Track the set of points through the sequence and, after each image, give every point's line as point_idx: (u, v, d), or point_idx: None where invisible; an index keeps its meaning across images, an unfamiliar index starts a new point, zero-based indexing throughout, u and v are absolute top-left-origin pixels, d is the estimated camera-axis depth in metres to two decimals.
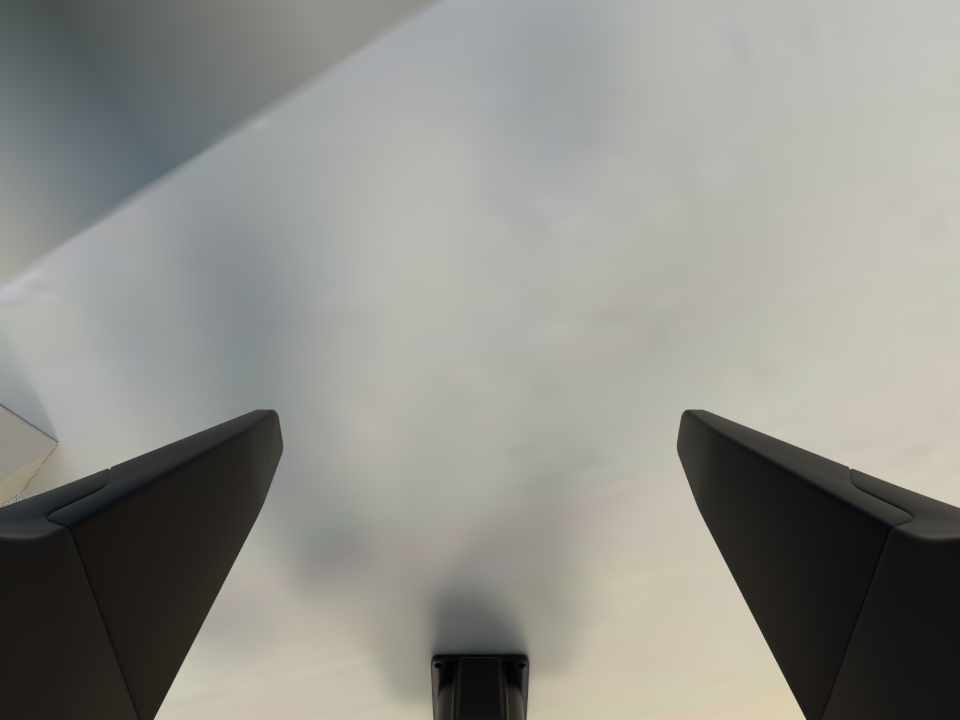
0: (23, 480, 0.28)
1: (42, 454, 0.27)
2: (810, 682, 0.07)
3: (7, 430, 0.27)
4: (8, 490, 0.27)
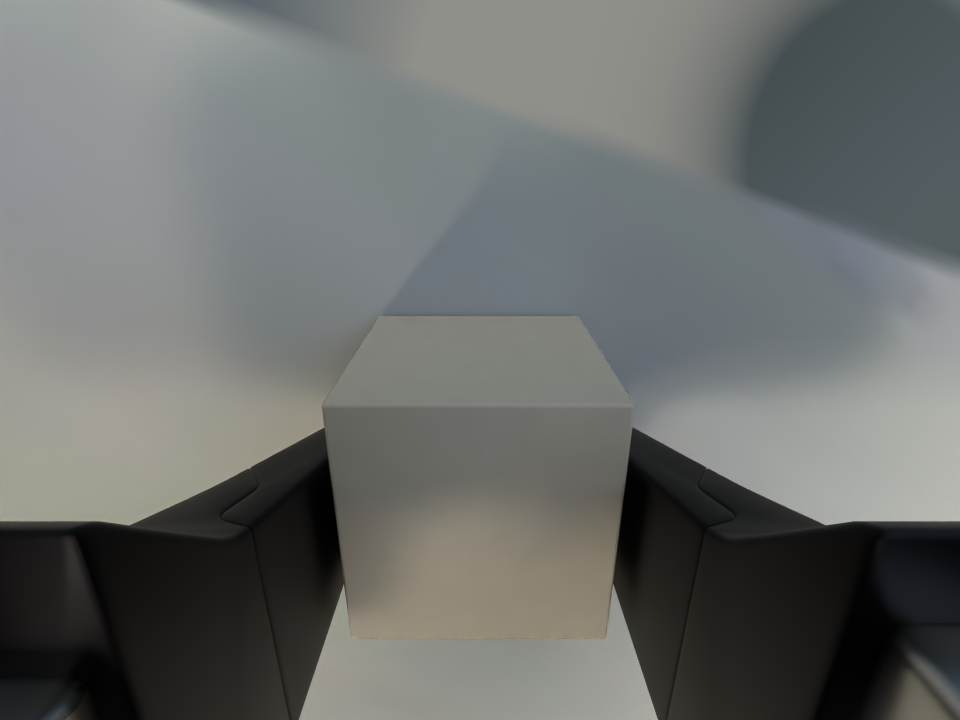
0: None
1: None
2: (659, 682, 0.07)
3: None
4: None
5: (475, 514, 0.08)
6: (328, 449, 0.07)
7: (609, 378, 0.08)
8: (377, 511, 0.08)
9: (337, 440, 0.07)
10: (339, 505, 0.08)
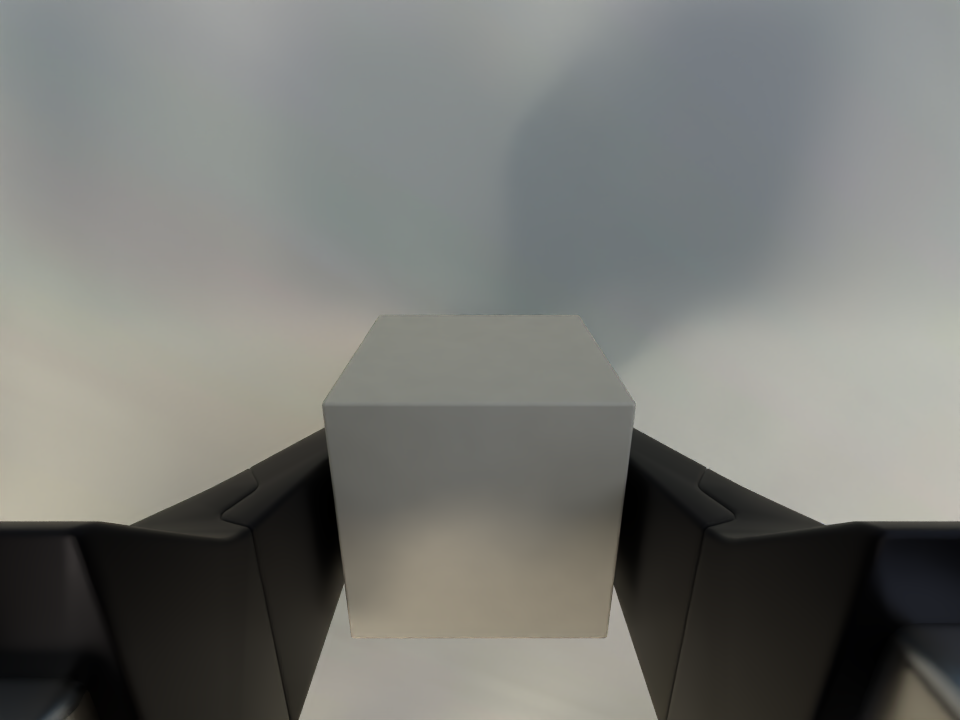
0: None
1: None
2: (659, 682, 0.07)
3: None
4: None
5: (476, 513, 0.08)
6: (328, 448, 0.07)
7: (610, 377, 0.08)
8: (377, 510, 0.08)
9: (337, 439, 0.07)
10: (339, 504, 0.08)
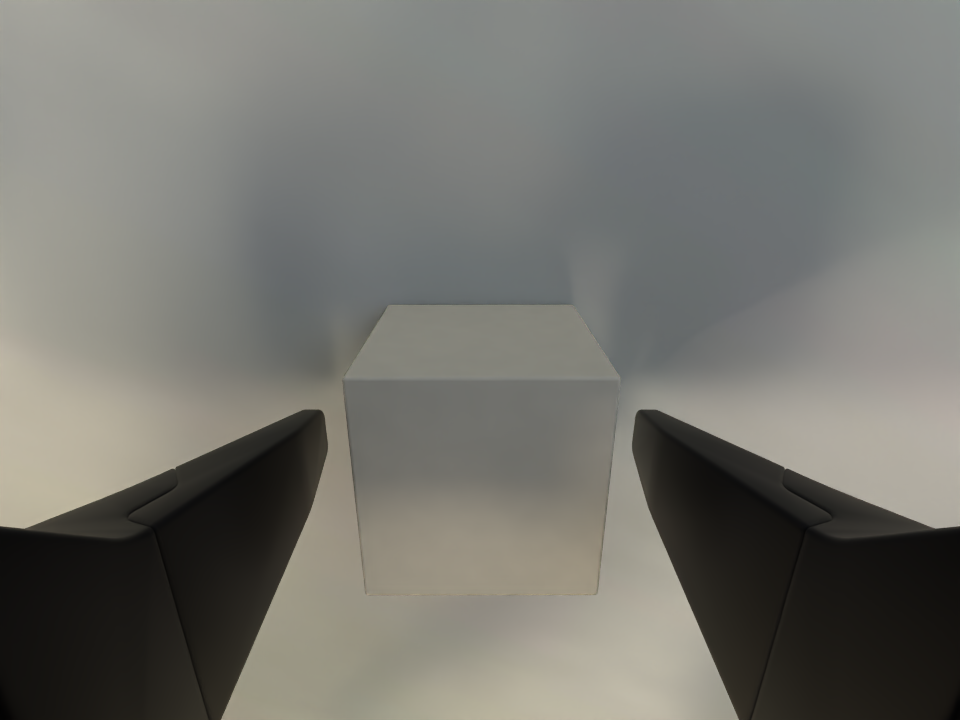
0: None
1: None
2: (741, 682, 0.07)
3: None
4: None
5: (478, 478, 0.09)
6: (347, 418, 0.08)
7: (599, 356, 0.09)
8: (390, 476, 0.09)
9: (355, 410, 0.08)
10: (356, 470, 0.09)
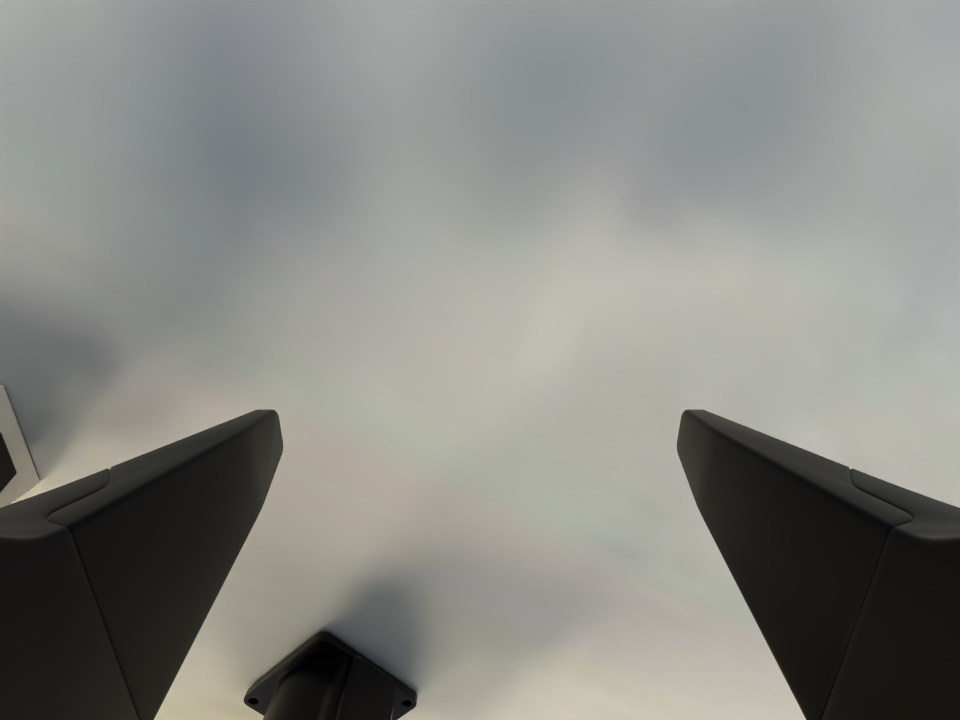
0: None
1: None
2: (810, 682, 0.07)
3: None
4: None
5: None
6: None
7: None
8: None
9: None
10: None
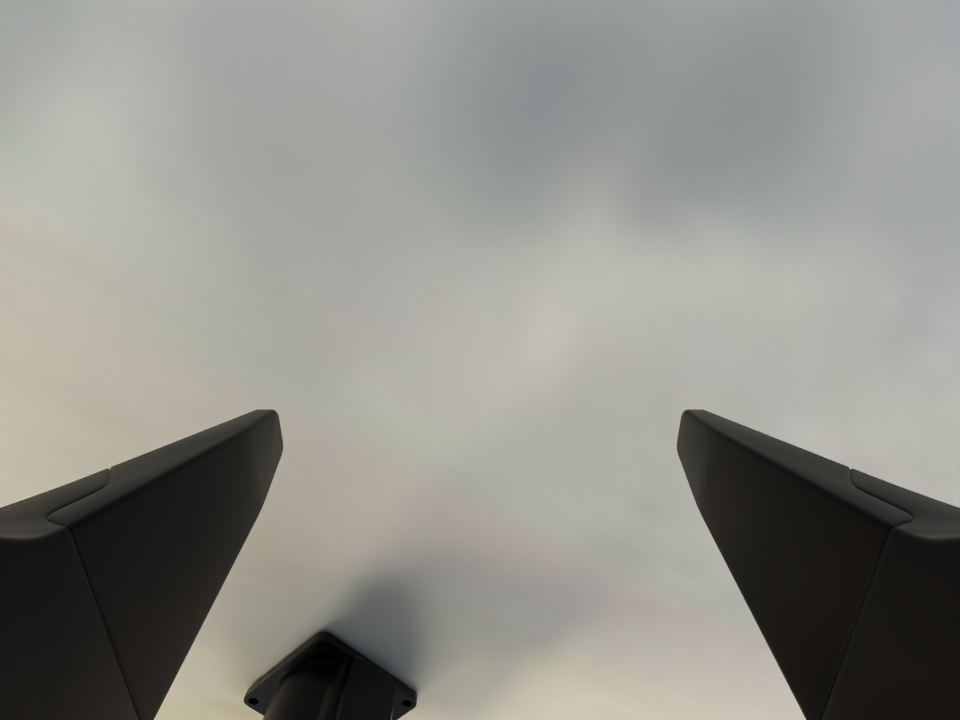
0: None
1: None
2: (810, 682, 0.07)
3: None
4: None
5: None
6: None
7: None
8: None
9: None
10: None
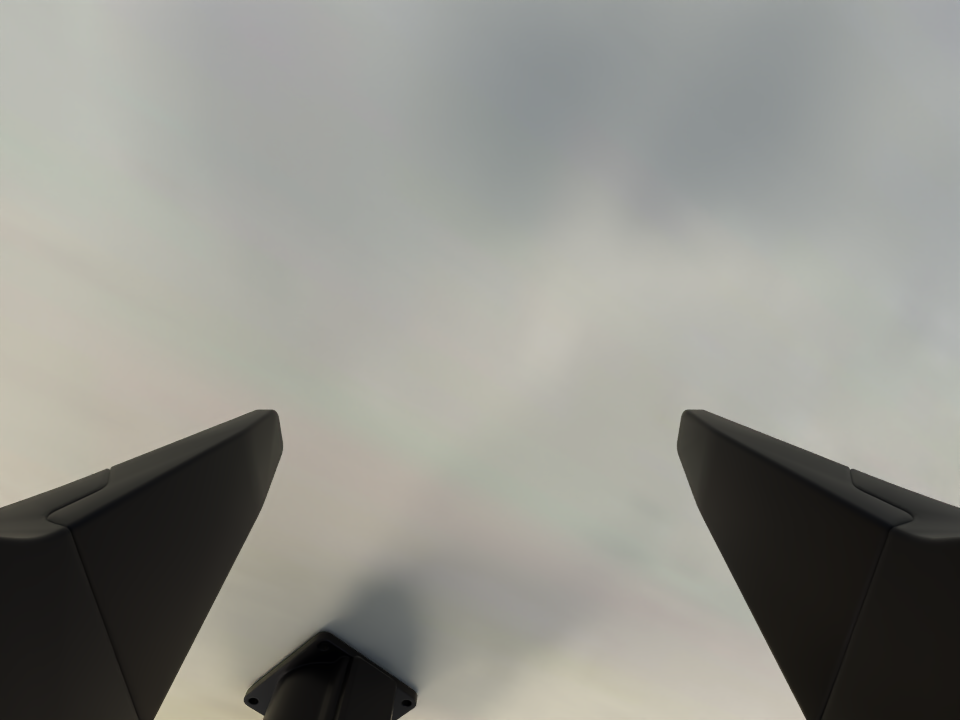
0: None
1: None
2: (810, 682, 0.07)
3: None
4: None
5: None
6: None
7: None
8: None
9: None
10: None
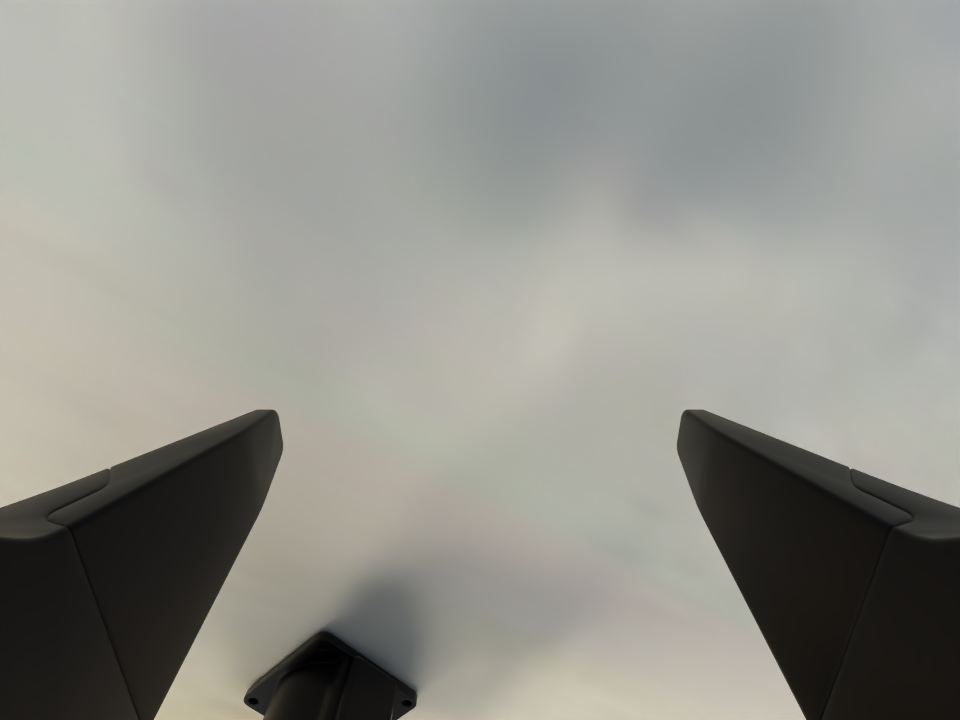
0: None
1: None
2: (810, 682, 0.07)
3: None
4: None
5: None
6: None
7: None
8: None
9: None
10: None
